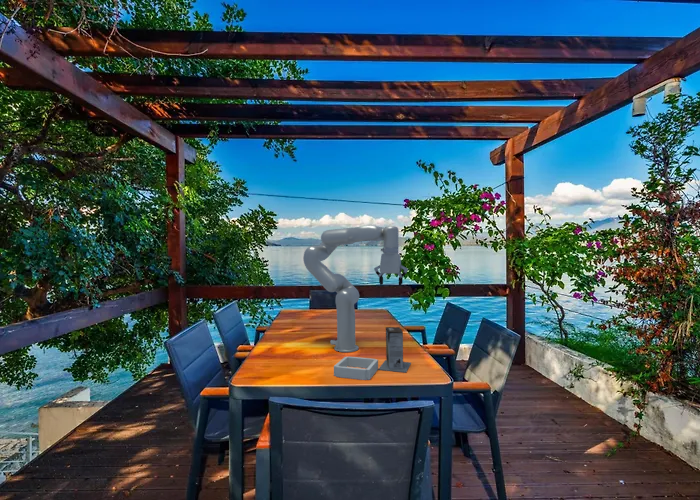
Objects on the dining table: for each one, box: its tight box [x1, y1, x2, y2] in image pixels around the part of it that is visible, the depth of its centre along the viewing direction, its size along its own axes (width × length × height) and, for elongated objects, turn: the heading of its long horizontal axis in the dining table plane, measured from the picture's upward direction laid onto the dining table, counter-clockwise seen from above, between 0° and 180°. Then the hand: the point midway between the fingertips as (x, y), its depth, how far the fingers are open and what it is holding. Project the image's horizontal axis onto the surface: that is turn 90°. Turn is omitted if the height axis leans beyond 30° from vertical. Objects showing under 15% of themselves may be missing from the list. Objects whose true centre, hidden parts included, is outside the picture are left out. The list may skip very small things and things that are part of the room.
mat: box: [377, 359, 412, 374], centre depth 154 cm, size 12×13×1 cm
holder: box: [333, 356, 379, 381], centre depth 148 cm, size 15×15×4 cm
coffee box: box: [385, 326, 404, 369], centre depth 155 cm, size 9×6×16 cm
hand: (390, 285), depth 176 cm, fingers open, 9 cm apart
